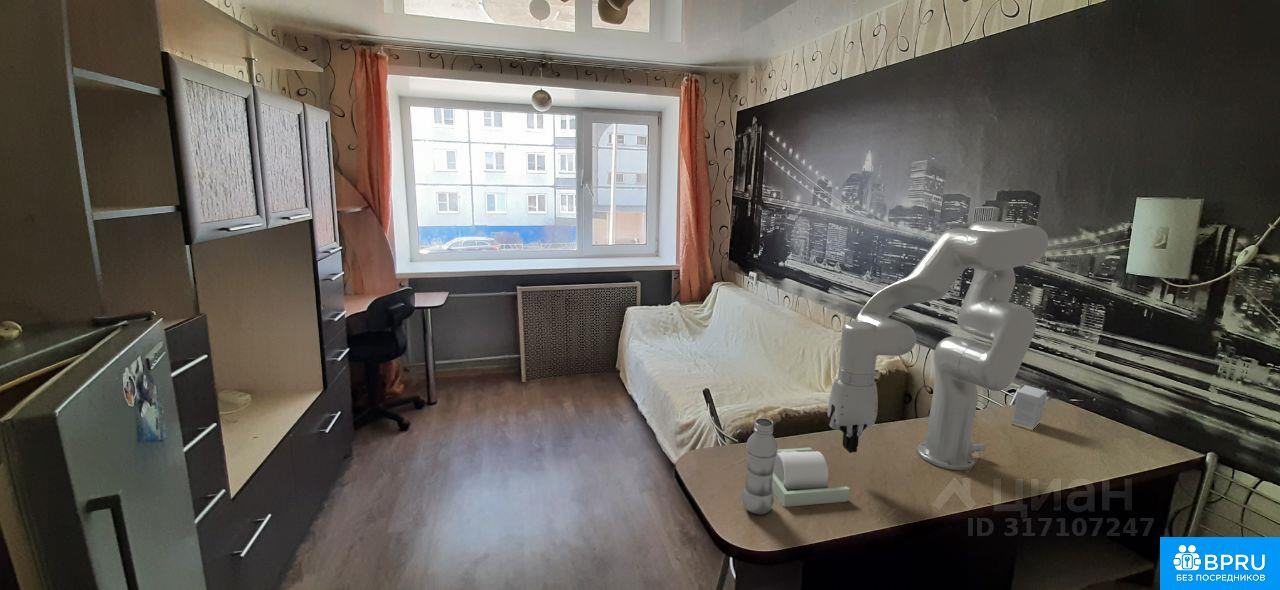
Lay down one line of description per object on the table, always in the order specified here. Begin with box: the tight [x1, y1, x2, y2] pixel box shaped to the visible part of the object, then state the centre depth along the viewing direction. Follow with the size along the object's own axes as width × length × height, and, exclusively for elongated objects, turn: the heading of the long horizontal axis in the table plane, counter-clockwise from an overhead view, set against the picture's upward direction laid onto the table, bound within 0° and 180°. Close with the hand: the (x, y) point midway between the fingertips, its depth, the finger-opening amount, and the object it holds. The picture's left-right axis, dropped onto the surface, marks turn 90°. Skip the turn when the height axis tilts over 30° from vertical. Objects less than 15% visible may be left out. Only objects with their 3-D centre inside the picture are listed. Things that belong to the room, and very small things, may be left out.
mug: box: [773, 450, 829, 491], centre depth 121 cm, size 12×10×8 cm
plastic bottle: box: [742, 417, 779, 515], centre depth 109 cm, size 6×7×20 cm
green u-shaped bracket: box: [773, 447, 851, 508], centre depth 122 cm, size 15×18×3 cm
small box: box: [1011, 384, 1048, 428], centre depth 152 cm, size 8×6×10 cm
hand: (849, 449), depth 122 cm, fingers closed
